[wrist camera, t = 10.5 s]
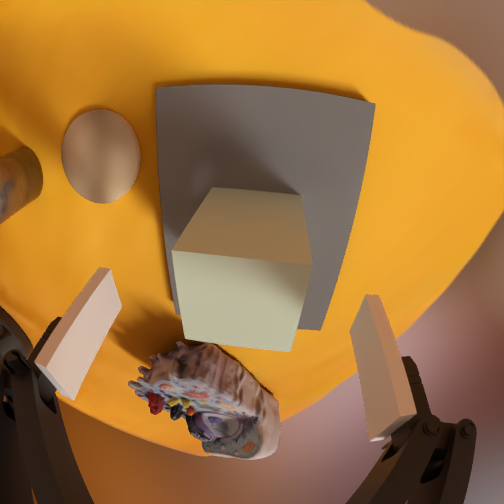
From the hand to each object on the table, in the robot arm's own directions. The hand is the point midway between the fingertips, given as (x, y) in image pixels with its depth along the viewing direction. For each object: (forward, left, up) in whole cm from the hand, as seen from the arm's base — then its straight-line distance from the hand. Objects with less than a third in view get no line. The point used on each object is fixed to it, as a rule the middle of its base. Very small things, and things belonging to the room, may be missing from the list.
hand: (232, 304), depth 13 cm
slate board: (0, 0, -9) cm, 9 cm away
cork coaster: (-13, +5, -9) cm, 16 cm away
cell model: (-3, -23, -9) cm, 25 cm away
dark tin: (-24, +4, -9) cm, 26 cm away
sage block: (0, 0, -8) cm, 8 cm away
